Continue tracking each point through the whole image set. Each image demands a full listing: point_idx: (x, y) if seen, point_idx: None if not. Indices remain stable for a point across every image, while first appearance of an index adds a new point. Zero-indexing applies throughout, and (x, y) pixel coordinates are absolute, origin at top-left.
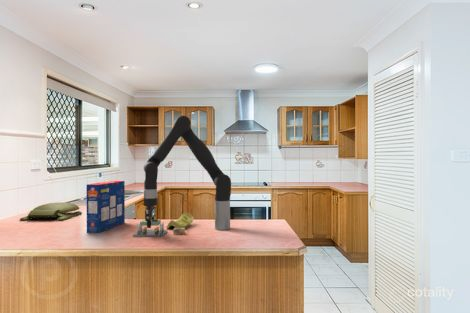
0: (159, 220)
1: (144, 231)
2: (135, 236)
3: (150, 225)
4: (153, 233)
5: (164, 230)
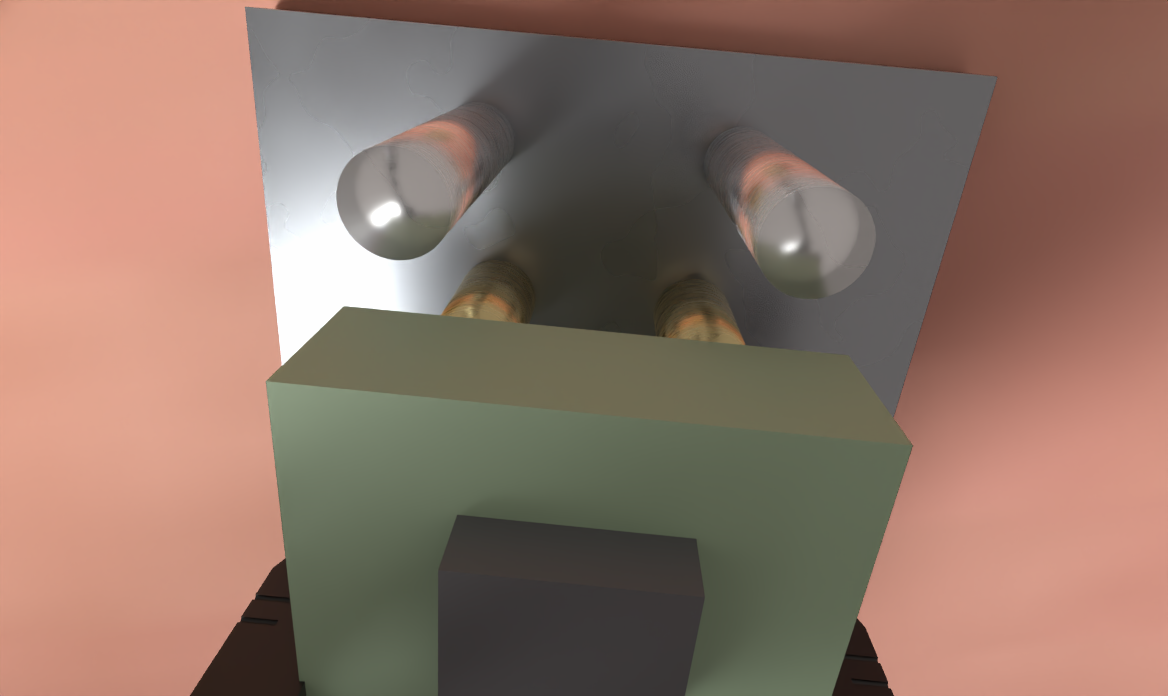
0: (445, 423)
1: None
2: None
3: None
4: None
5: (331, 99)
